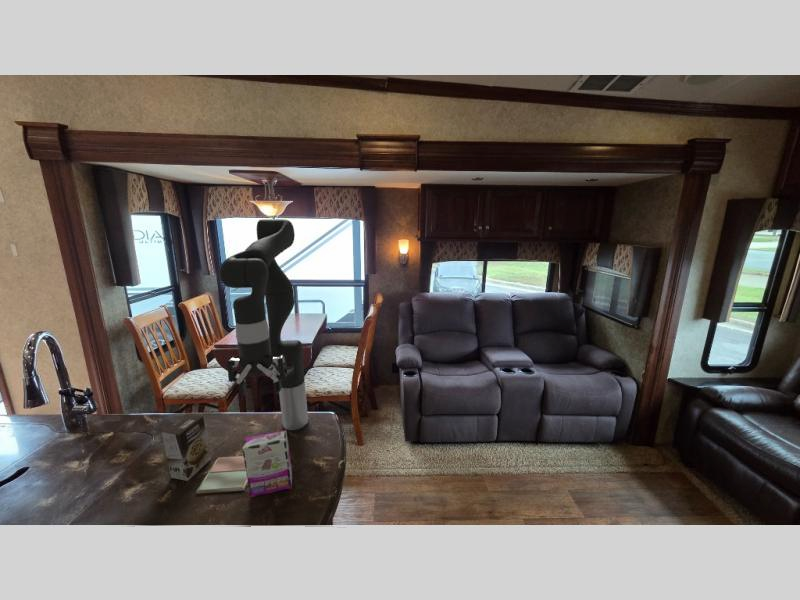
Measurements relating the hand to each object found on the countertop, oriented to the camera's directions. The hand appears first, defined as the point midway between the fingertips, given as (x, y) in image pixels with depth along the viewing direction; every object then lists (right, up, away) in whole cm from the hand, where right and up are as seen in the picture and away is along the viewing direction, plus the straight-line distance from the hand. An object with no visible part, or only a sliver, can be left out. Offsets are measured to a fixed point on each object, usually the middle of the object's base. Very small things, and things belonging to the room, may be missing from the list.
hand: (261, 393), depth 84 cm
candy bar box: (0, -29, +7) cm, 30 cm away
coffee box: (-28, -28, +14) cm, 42 cm away
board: (-14, -28, +12) cm, 34 cm away
